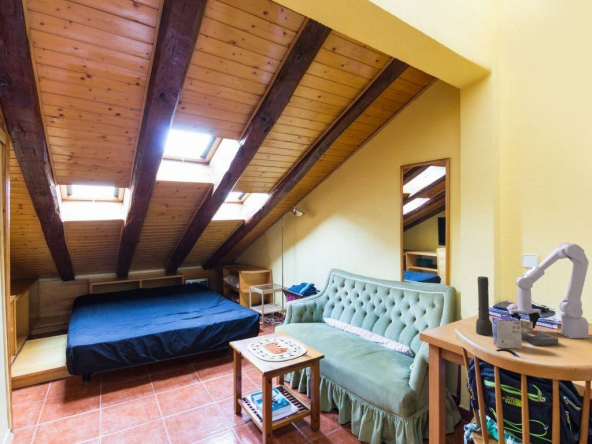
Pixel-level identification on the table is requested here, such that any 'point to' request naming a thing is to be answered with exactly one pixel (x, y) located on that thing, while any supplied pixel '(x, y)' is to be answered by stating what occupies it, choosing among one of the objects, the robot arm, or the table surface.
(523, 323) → the birch block
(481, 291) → the flashlight
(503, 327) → the ink cartridge box
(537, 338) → the cradle
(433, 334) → the table surface
